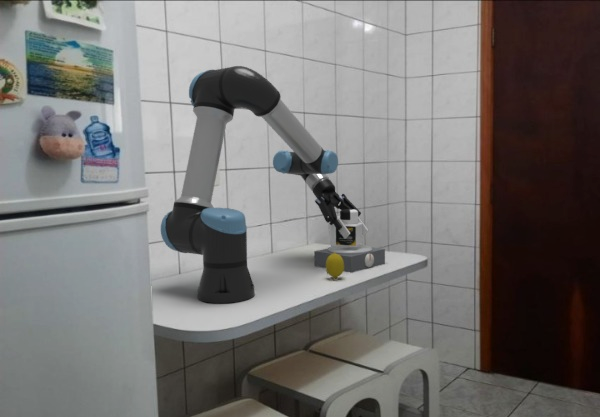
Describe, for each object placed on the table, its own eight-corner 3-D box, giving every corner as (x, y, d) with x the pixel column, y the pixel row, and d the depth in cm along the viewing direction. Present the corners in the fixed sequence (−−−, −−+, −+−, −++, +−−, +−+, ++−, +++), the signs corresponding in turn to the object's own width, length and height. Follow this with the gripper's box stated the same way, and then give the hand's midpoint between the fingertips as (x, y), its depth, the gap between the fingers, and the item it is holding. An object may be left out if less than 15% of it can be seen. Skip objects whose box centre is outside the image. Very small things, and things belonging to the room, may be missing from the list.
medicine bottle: (335, 245, 179) (335, 210, 178) (343, 242, 186) (342, 208, 185) (355, 246, 176) (355, 210, 175) (362, 243, 183) (362, 208, 182)
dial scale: (352, 272, 169) (352, 255, 169) (314, 265, 181) (314, 249, 181) (386, 263, 182) (386, 247, 181) (348, 257, 194) (348, 242, 193)
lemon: (343, 281, 158) (342, 254, 157) (324, 280, 159) (324, 254, 158) (345, 276, 163) (345, 251, 163) (327, 276, 165) (327, 250, 164)
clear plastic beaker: (352, 248, 214) (352, 216, 212) (350, 252, 205) (350, 218, 203) (329, 248, 215) (328, 216, 214) (326, 252, 206) (325, 218, 205)
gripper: (335, 191, 198) (370, 237, 188) (293, 194, 183) (329, 245, 173) (346, 176, 194) (382, 223, 184) (304, 179, 178) (341, 230, 169)
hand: (356, 234), depth 178 cm, fingers closed on medicine bottle, 9 cm apart
